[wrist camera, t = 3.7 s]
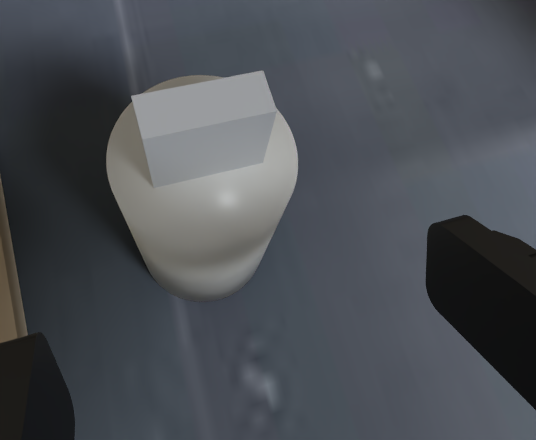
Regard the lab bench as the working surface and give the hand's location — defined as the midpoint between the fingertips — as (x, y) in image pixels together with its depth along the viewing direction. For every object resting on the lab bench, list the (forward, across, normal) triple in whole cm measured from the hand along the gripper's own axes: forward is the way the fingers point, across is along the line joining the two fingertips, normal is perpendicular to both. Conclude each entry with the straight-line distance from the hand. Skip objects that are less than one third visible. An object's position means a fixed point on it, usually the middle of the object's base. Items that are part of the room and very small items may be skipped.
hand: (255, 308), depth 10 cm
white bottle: (+10, 0, +4) cm, 10 cm away
